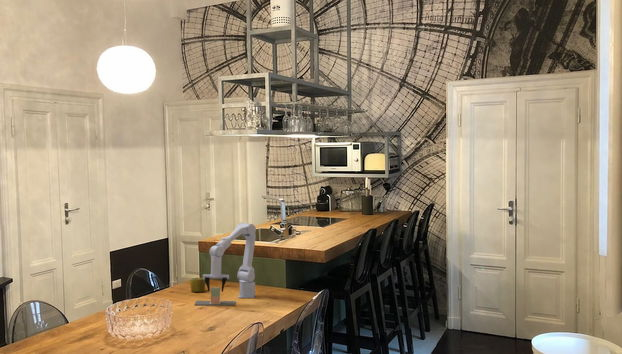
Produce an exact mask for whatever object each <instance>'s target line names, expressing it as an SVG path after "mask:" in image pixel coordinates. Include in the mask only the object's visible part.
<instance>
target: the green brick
mask: <svg viewBox="0 0 622 354" xmlns="http://www.w3.org/2000/svg"><path fill="white" fill-rule="evenodd" d="M211 296H220V297H221V287H218V286H217V287H216V286H215V287H214V286H213V287H211V289H210V297H211Z"/></svg>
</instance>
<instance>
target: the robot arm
mask: <svg viewBox="0 0 622 354" xmlns="http://www.w3.org/2000/svg"><path fill="white" fill-rule="evenodd" d="M256 230H257V228H256V226H255V224H252V223H245V222H239V223H238V224H237V225H236V227H235V229H234V230H233V231H232V232H231V233H230V234H229V235H228V236H227V237H222V238H221V240H219V242H217V243H216V244H215V245H213V246H211V247H210V248H209V251H208V252H209V255H210V259H211V260H210V273H209V274H208V273H207V274H205V273H204V274H202V278H203V279H204V278H205V283H206V285H205V286H206V289H207V291H208V292H211V289H210V284H211V283H210V281H211V280H210V279H221V293H223V292H224V287H225V285H226V282H227V280H229V279H230V274H223V273H222V259H223V258H222V257H223V255H224V254H225V251H226V250H227V249H228V248H229V247H230V246H231V245H232V242H234V240H235V239H237V238H239V237H240V236H241V235H242V236H243V237H244V238H245V247H244V251H243V252H244V253H243V259H242V260H243V261H242V265H241V266H240V267H239V269H238V271H237V275H236V277H237V279H238V282H239V294H238V297H237V298H239V299H242V298H243V299H255V296H256V281H254V280H255V278H256V274H255V269H254V267H253V266H252V265H253V258H254V251H255V245H256V237H257V236H256Z"/></svg>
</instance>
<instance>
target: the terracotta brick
mask: <svg viewBox="0 0 622 354" xmlns="http://www.w3.org/2000/svg"><path fill="white" fill-rule="evenodd" d="M210 301H211V303H214V304H219V302H220V301H221V295H220V296H211V295H210Z"/></svg>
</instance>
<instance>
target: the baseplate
mask: <svg viewBox="0 0 622 354" xmlns="http://www.w3.org/2000/svg"><path fill="white" fill-rule="evenodd" d="M235 304H236V300H220V302H219V304H214V303H211V300H196V301H195V303H194V306H217V307H218V306H219V307H220V306H223V307H224V306H225V307H226V306H228V307H229V306H235Z"/></svg>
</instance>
